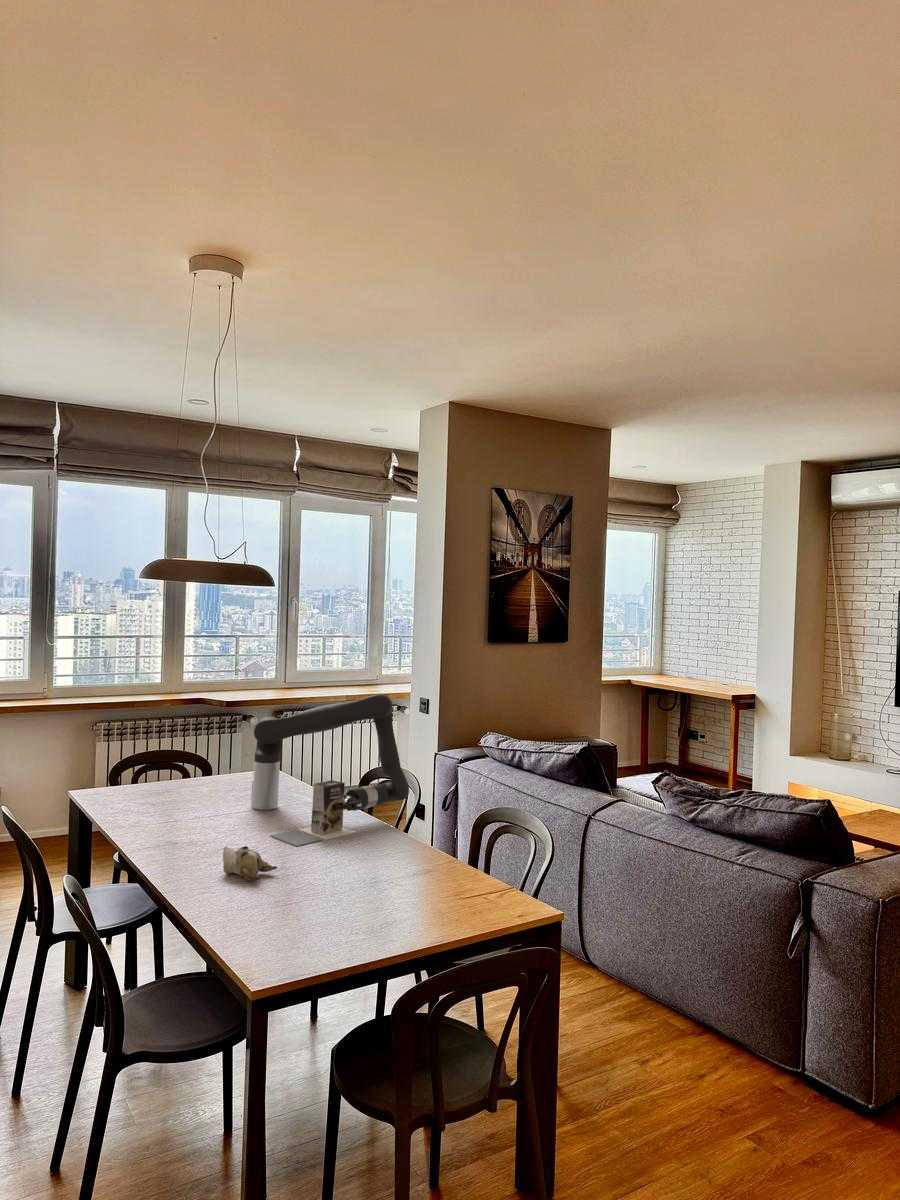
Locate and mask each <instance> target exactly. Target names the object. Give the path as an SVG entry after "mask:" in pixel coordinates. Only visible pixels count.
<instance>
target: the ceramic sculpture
mask: <svg viewBox="0 0 900 1200" xmlns="http://www.w3.org/2000/svg"><path fill="white" fill-rule="evenodd" d="M222 854H223V855H222V860H223V861H222V862H223V868H222V869H223V872H224V874H225V875H232V874H236V875H238V876H240V877H243V878H245V880H247V881H255V880H260V878H261V877H260V876H259V872H261V873H267V872H271V871H274V870H276V869H278V866H275V865H274V866H272V865H271V864H269V863H268V862H267V861H265V860H263V859H262V857H261V855H260V854H259V852H257V851H255V850H253V849H252V850H251V849H249V847H248V846H245V845H244V846H242V847H239V848H238V849H237V850H236V849H234V848H231V847H228V846H224V848H223V852H222Z"/></svg>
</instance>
